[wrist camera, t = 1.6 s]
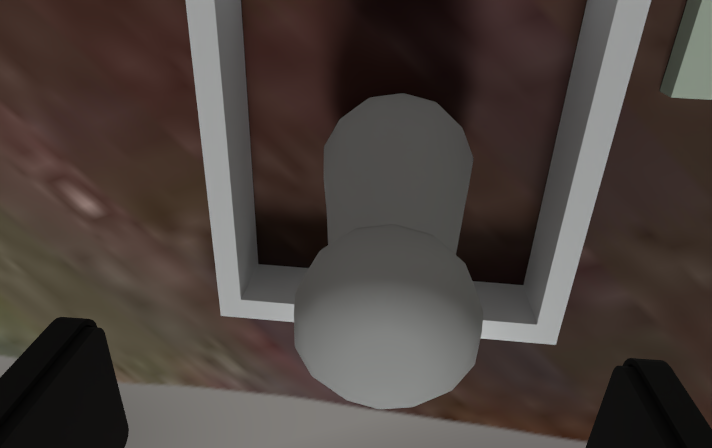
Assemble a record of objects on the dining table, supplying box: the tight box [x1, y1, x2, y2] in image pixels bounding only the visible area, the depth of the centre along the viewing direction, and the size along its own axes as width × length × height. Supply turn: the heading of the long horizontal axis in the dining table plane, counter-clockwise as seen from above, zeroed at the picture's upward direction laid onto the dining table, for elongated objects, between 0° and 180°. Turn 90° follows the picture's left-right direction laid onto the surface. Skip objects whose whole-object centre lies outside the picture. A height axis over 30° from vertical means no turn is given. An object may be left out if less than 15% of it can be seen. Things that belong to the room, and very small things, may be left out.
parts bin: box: [186, 0, 651, 345], centre depth 21 cm, size 15×15×3 cm
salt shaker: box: [294, 93, 483, 409], centre depth 16 cm, size 6×6×13 cm
